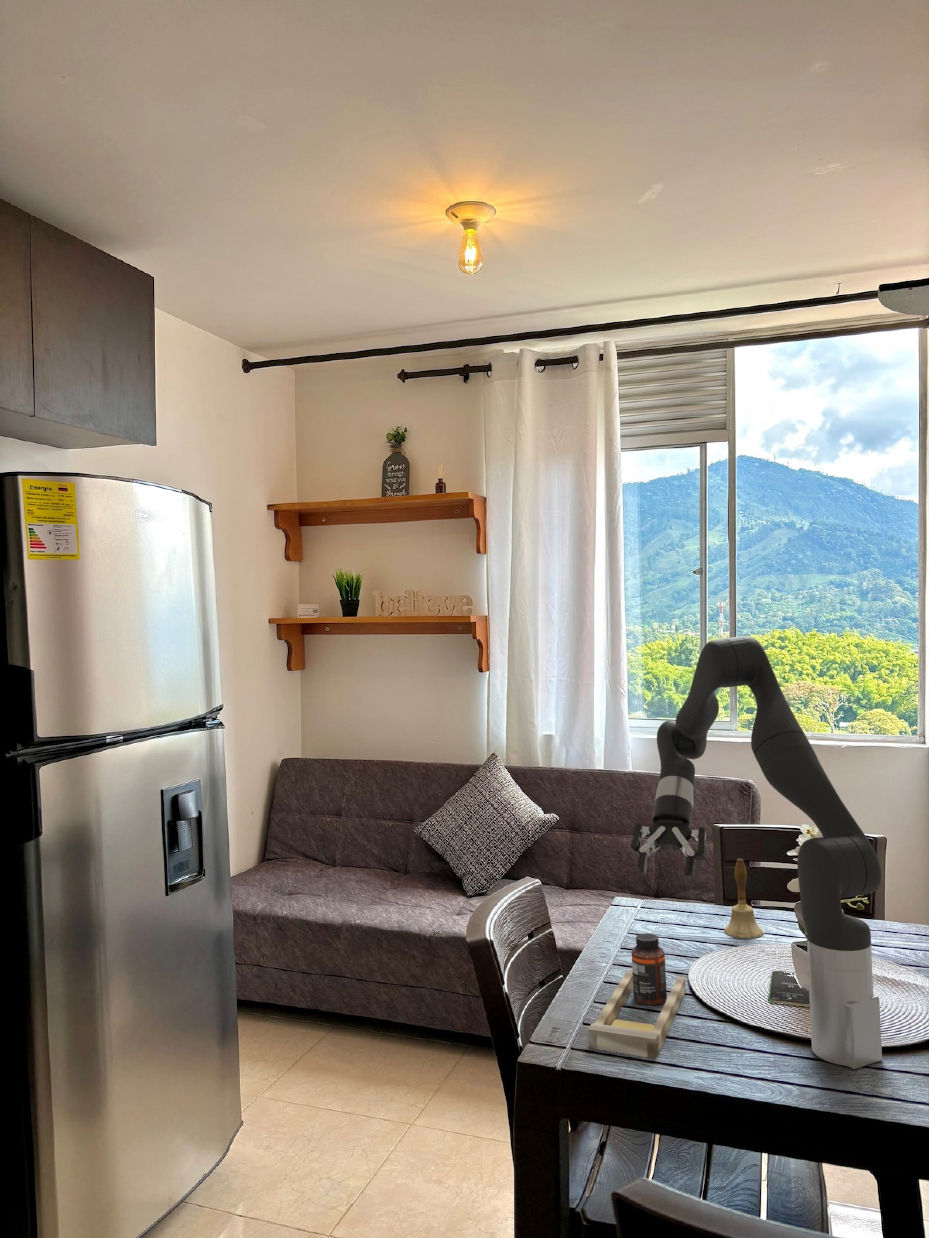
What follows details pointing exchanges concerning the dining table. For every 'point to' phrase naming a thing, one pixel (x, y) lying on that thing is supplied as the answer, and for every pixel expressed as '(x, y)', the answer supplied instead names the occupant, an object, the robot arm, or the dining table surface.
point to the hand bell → (742, 910)
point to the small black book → (787, 990)
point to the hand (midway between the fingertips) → (665, 874)
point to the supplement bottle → (648, 970)
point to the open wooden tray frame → (633, 1039)
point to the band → (633, 1025)
